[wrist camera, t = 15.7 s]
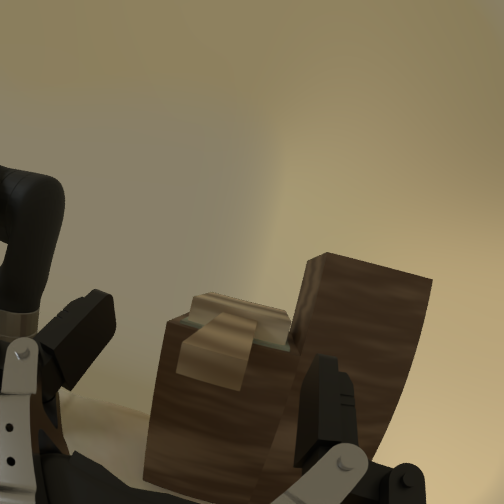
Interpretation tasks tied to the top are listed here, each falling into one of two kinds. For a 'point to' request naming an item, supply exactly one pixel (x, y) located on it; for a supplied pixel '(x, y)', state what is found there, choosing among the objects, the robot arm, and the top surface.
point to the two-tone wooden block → (285, 384)
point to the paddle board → (227, 337)
